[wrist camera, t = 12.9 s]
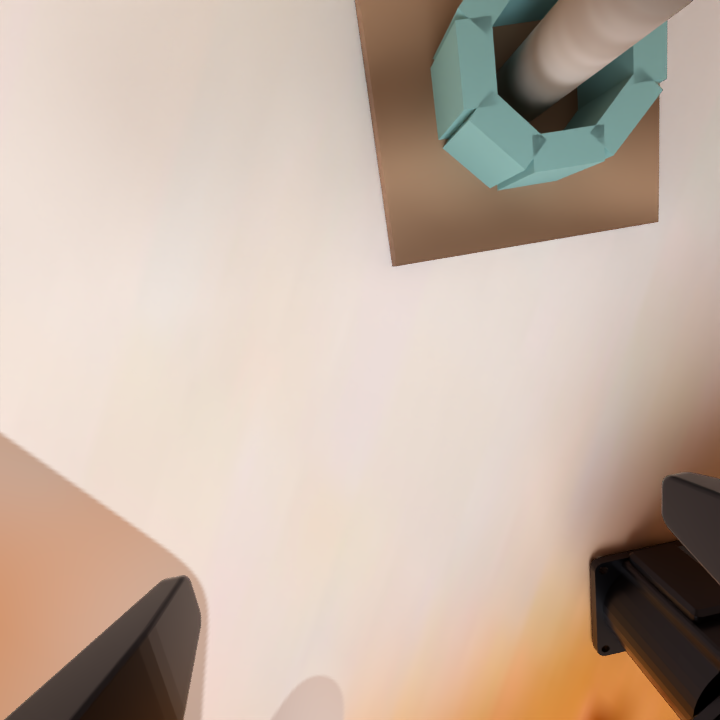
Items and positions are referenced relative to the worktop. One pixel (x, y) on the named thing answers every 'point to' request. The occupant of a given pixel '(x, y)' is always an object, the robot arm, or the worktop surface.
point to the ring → (509, 129)
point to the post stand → (529, 99)
